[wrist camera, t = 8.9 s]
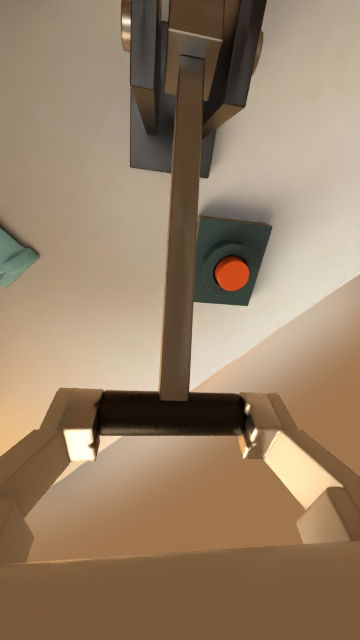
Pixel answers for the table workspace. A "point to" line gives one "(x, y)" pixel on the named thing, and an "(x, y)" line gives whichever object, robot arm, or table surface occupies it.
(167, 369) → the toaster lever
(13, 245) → the owl figurine
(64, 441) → the robot arm
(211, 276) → the button housing
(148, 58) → the lever bracket
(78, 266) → the table surface
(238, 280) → the stop button
